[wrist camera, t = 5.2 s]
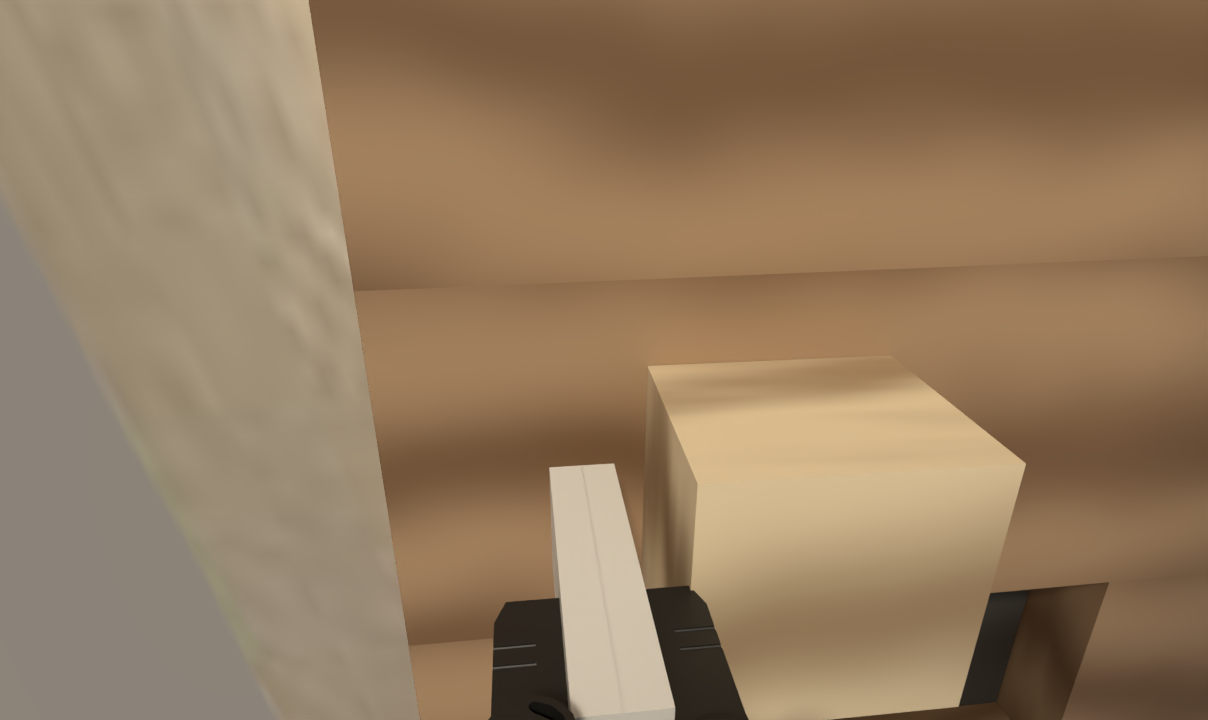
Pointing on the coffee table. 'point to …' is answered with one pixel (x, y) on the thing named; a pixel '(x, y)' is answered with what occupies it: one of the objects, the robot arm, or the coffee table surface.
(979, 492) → the maple block
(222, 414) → the coffee table surface
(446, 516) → the board
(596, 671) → the robot arm
